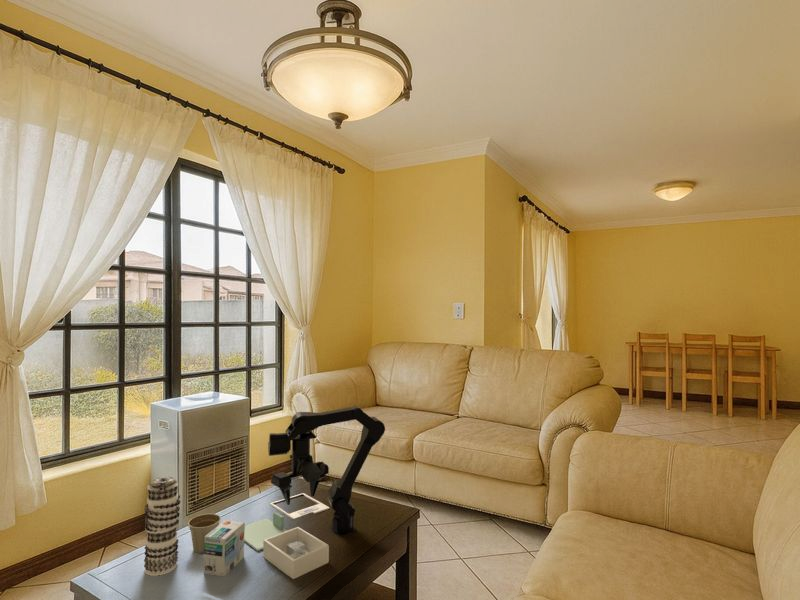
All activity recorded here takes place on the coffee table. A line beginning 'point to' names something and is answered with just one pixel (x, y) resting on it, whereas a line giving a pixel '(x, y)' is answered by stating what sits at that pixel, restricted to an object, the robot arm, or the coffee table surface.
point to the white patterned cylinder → (161, 526)
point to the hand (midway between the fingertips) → (300, 500)
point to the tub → (309, 561)
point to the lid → (263, 530)
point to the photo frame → (314, 509)
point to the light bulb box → (224, 548)
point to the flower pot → (202, 529)
